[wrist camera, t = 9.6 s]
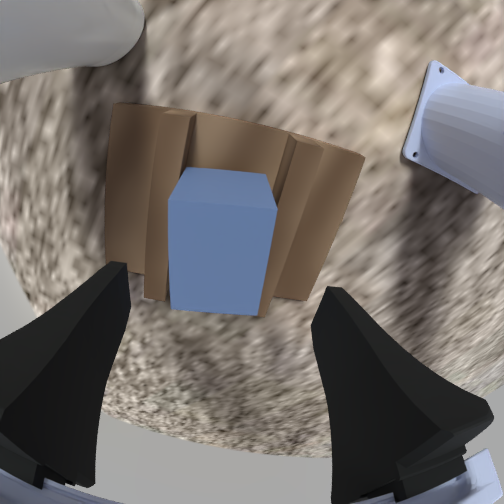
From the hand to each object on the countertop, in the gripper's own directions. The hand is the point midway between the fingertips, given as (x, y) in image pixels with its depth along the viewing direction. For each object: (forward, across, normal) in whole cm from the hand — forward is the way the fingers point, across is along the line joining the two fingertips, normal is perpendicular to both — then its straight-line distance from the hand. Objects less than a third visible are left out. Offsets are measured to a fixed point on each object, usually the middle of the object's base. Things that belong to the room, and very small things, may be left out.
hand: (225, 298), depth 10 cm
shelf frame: (+10, 0, +1) cm, 10 cm away
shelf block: (+8, 0, +1) cm, 8 cm away
